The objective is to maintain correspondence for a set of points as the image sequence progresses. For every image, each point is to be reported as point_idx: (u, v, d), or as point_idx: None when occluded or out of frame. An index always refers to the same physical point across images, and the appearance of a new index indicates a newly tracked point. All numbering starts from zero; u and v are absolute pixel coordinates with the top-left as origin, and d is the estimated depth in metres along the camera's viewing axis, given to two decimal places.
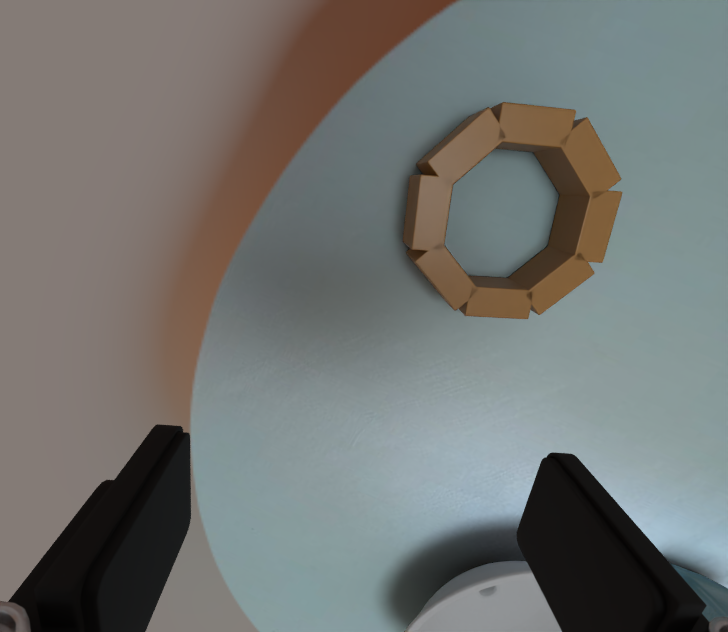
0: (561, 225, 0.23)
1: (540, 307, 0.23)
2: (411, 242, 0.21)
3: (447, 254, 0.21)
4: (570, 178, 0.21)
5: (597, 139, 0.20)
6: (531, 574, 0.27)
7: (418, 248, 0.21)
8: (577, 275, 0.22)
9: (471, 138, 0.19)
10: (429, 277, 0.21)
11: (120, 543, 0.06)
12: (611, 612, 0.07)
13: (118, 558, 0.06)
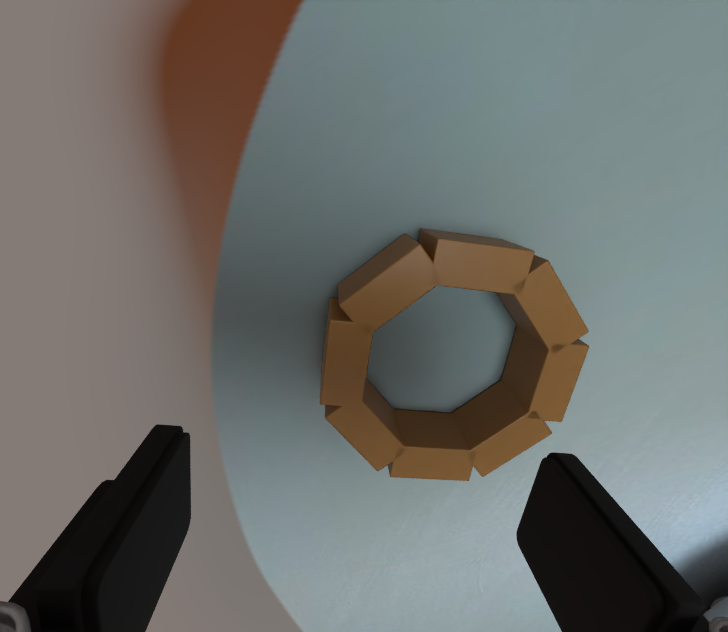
0: (512, 311, 0.18)
1: (556, 416, 0.17)
2: None
3: (414, 450, 0.17)
4: None
5: (469, 245, 0.14)
6: None
7: (382, 466, 0.18)
8: (570, 363, 0.17)
9: (340, 355, 0.15)
10: (416, 477, 0.18)
11: (120, 543, 0.06)
12: (611, 612, 0.07)
13: (118, 558, 0.06)
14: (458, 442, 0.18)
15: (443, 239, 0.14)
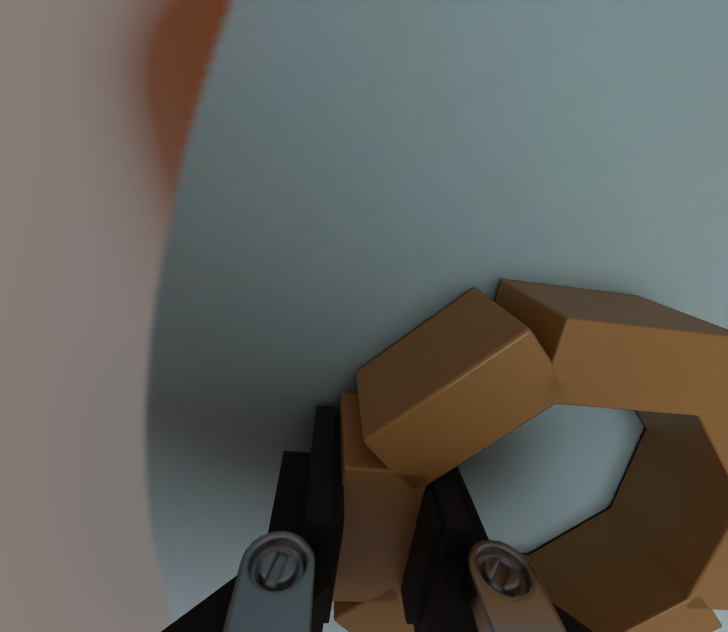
0: (655, 417, 0.10)
1: None
2: None
3: None
4: None
5: (628, 331, 0.07)
6: None
7: None
8: None
9: (364, 525, 0.08)
10: None
11: (342, 493, 0.08)
12: (416, 544, 0.08)
13: None
14: None
15: (577, 319, 0.07)
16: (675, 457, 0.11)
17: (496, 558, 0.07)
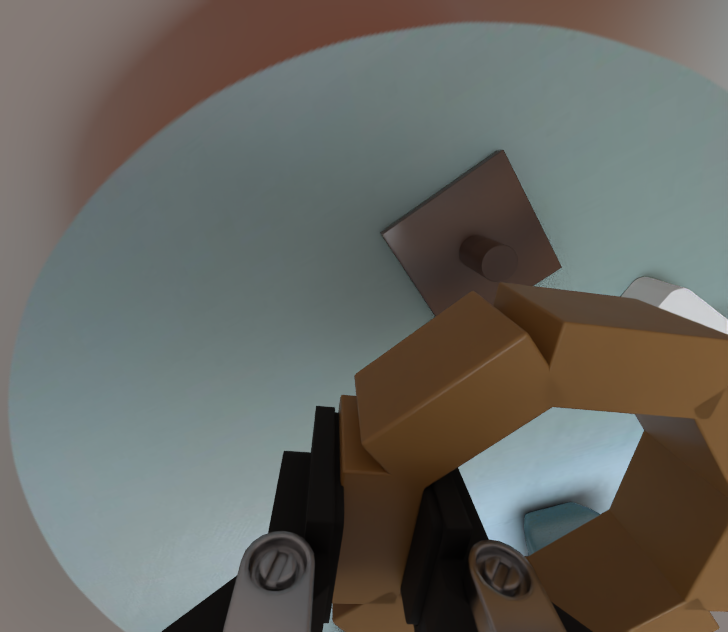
0: (652, 419, 0.10)
1: None
2: None
3: None
4: None
5: (625, 335, 0.07)
6: None
7: None
8: None
9: (362, 527, 0.08)
10: None
11: (342, 493, 0.08)
12: (416, 544, 0.08)
13: None
14: None
15: (574, 323, 0.07)
16: (673, 459, 0.11)
17: (496, 558, 0.07)
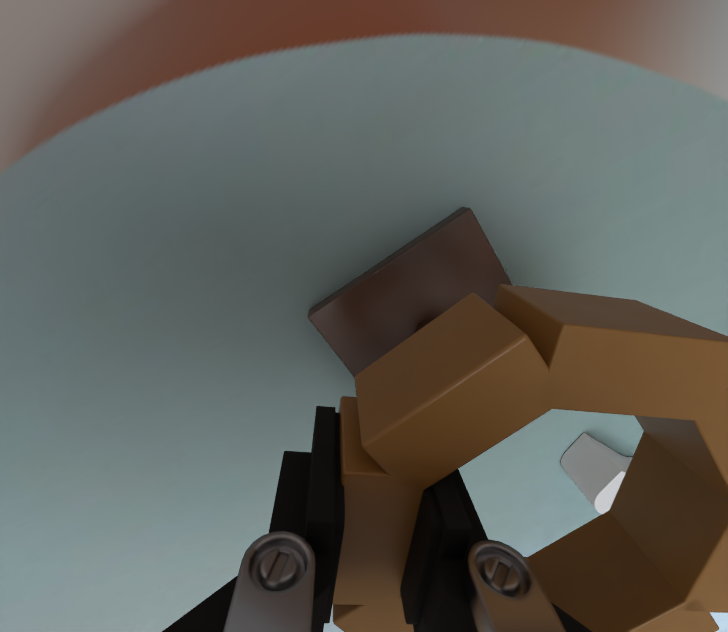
0: (652, 421, 0.10)
1: None
2: None
3: None
4: None
5: (625, 337, 0.07)
6: None
7: None
8: None
9: (363, 529, 0.08)
10: None
11: (343, 493, 0.08)
12: (416, 544, 0.08)
13: None
14: None
15: (573, 325, 0.07)
16: (672, 460, 0.11)
17: (495, 558, 0.07)
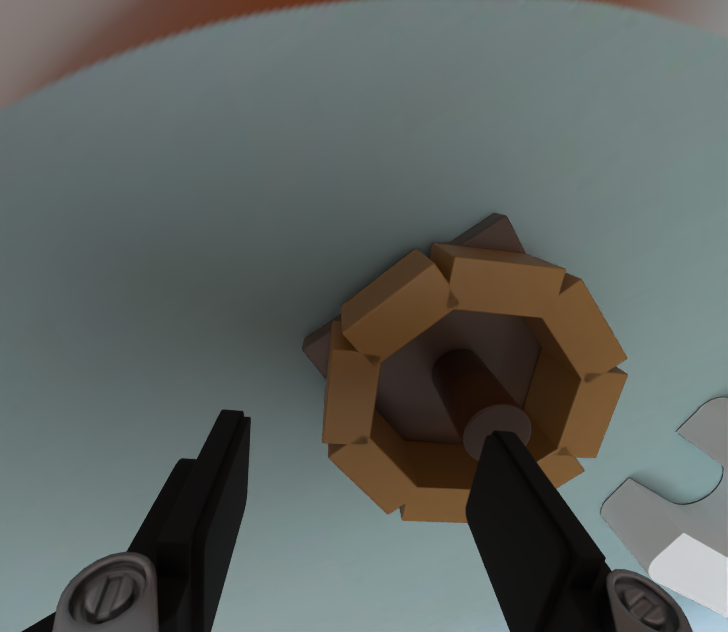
0: (537, 333, 0.16)
1: (589, 452, 0.15)
2: None
3: (429, 491, 0.16)
4: None
5: (491, 264, 0.13)
6: None
7: (393, 509, 0.16)
8: (606, 393, 0.15)
9: (345, 388, 0.14)
10: (431, 520, 0.16)
11: (215, 507, 0.07)
12: (530, 570, 0.08)
13: (214, 520, 0.07)
14: None
15: (461, 257, 0.12)
16: (554, 361, 0.16)
17: (640, 591, 0.07)
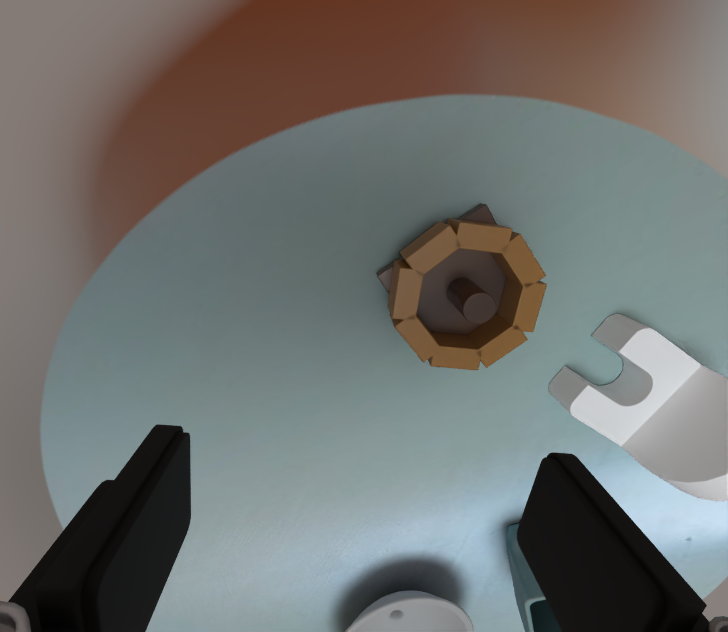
0: (503, 266, 0.30)
1: (529, 328, 0.30)
2: (420, 358, 0.30)
3: (445, 348, 0.30)
4: None
5: (476, 226, 0.27)
6: (362, 619, 0.38)
7: (426, 359, 0.30)
8: (536, 294, 0.29)
9: (405, 288, 0.28)
10: (446, 366, 0.30)
11: (120, 543, 0.06)
12: (611, 612, 0.07)
13: (118, 558, 0.06)
14: (471, 346, 0.30)
15: (462, 222, 0.27)
16: (512, 282, 0.30)
17: None
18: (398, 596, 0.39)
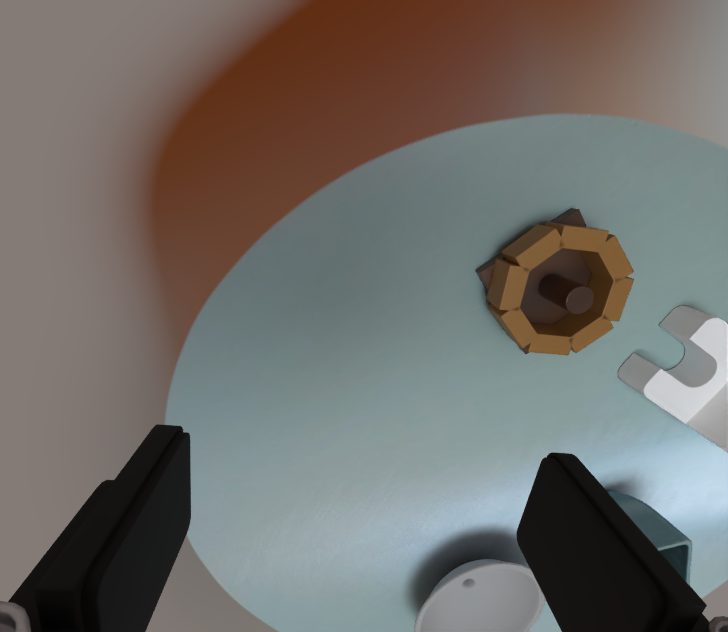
0: (592, 264, 0.34)
1: (616, 317, 0.34)
2: (519, 344, 0.34)
3: (542, 336, 0.34)
4: None
5: (578, 228, 0.31)
6: (448, 583, 0.42)
7: (525, 345, 0.34)
8: (624, 288, 0.33)
9: (513, 283, 0.32)
10: (541, 352, 0.34)
11: (120, 543, 0.06)
12: (611, 612, 0.07)
13: (118, 558, 0.06)
14: (563, 334, 0.34)
15: (566, 225, 0.31)
16: (599, 277, 0.34)
17: None
18: (478, 563, 0.43)
